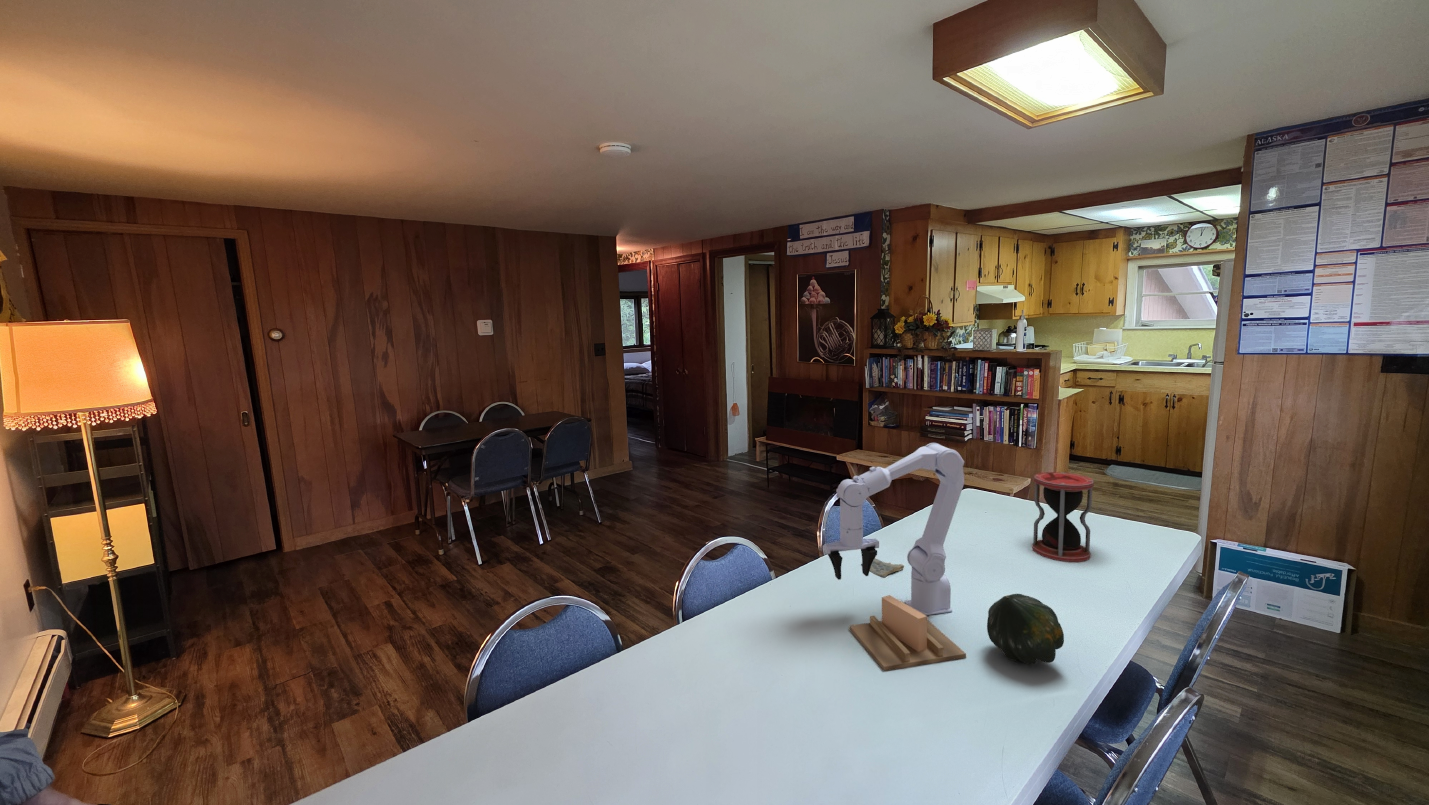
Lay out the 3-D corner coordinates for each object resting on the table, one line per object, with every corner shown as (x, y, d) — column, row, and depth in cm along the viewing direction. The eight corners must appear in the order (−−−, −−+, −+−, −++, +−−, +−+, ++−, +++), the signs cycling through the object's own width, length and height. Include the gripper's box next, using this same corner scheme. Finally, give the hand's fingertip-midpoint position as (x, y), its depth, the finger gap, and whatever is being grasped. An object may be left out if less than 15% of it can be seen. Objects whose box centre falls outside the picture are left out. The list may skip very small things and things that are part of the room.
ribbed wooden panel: (922, 618, 144) (922, 607, 144) (966, 657, 127) (966, 645, 126) (849, 629, 140) (849, 618, 140) (884, 670, 123) (884, 658, 123)
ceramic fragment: (908, 566, 171) (882, 569, 167) (907, 576, 171) (881, 579, 167) (884, 555, 181) (859, 557, 177) (883, 565, 181) (858, 567, 177)
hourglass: (1089, 549, 184) (1093, 474, 181) (1091, 567, 170) (1094, 487, 167) (1033, 540, 193) (1035, 469, 190) (1030, 557, 179) (1032, 481, 176)
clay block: (889, 625, 140) (889, 595, 139) (926, 649, 129) (926, 616, 128) (881, 628, 139) (881, 597, 138) (918, 651, 128) (918, 618, 127)
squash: (1034, 685, 116) (1036, 617, 114) (972, 650, 129) (973, 588, 127) (1075, 664, 123) (1078, 599, 121) (1011, 633, 136) (1013, 574, 134)
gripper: (870, 518, 150) (870, 567, 152) (819, 524, 148) (820, 573, 149) (883, 527, 143) (883, 577, 145) (829, 533, 141) (830, 584, 142)
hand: (851, 576), depth 147 cm, fingers open, 7 cm apart
